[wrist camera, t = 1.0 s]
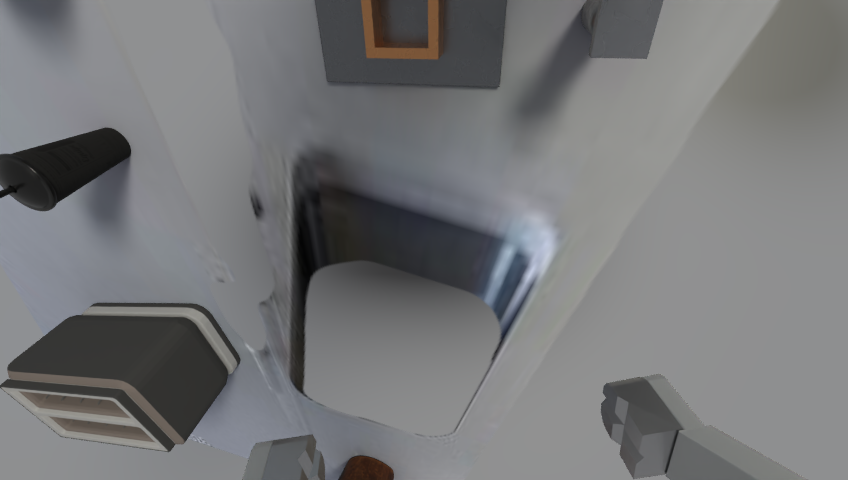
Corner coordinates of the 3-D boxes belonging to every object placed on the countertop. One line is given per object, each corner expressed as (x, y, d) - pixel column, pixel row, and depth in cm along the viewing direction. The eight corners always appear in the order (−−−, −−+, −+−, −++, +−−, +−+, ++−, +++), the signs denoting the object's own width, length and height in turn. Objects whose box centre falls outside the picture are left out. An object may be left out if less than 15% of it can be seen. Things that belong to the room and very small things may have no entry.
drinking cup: (82, 134, 59) (-81, 198, 43) (104, 107, 56) (-66, 166, 40) (125, 175, 62) (-13, 248, 46) (148, 152, 58) (7, 223, 43)
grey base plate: (306, -70, 39) (289, -72, 36) (513, -78, 35) (512, -82, 32) (329, 80, 47) (316, 88, 44) (499, 85, 43) (497, 94, 40)
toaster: (78, 301, 87) (-26, 379, 70) (204, 301, 77) (119, 392, 61) (129, 358, 97) (50, 438, 81) (246, 365, 88) (183, 457, 71)
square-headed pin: (583, -13, 37) (603, -4, 28) (629, -13, 36) (664, -5, 27) (575, 35, 39) (590, 57, 30) (618, 35, 38) (646, 58, 29)
